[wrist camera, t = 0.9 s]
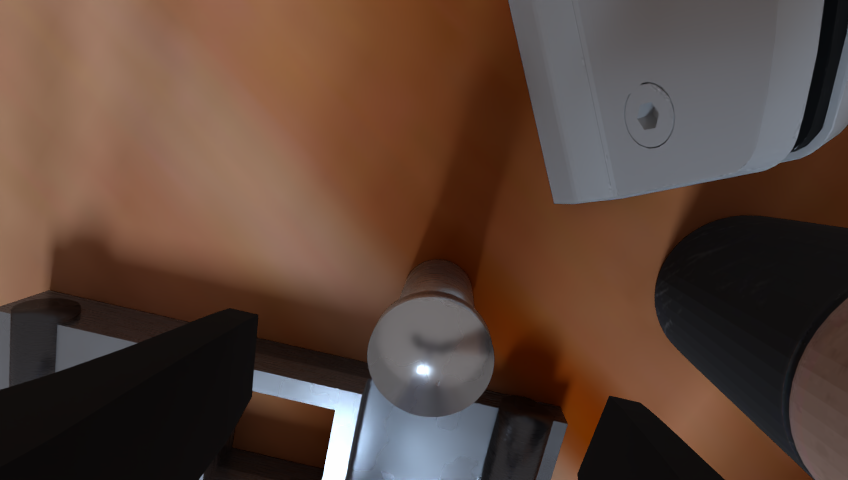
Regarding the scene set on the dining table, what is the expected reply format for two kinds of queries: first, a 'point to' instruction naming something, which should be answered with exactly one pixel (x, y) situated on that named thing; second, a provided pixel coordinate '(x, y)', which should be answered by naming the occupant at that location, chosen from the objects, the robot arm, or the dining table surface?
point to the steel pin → (432, 344)
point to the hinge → (679, 89)
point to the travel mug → (768, 328)
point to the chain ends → (309, 383)
